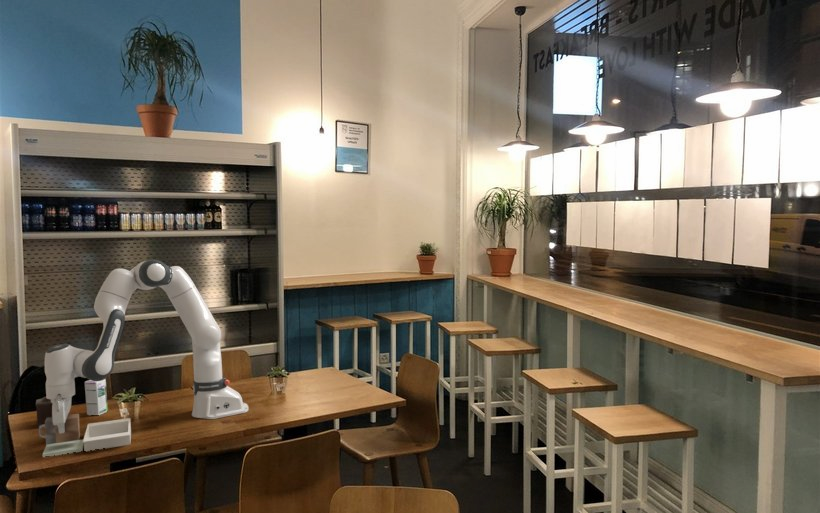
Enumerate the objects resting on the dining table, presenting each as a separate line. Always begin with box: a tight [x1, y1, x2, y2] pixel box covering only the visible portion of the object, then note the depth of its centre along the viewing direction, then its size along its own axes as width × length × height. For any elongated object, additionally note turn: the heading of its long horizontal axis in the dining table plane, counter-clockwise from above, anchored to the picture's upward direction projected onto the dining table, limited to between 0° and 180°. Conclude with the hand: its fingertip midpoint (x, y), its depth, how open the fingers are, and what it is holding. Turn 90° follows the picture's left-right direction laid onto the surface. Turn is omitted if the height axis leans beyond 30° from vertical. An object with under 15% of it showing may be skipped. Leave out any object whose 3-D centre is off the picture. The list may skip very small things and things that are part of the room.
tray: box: [83, 417, 132, 452], centre depth 224 cm, size 15×21×4 cm
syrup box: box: [84, 378, 109, 416], centre depth 258 cm, size 6×6×14 cm
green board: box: [42, 438, 84, 458], centre depth 217 cm, size 12×10×1 cm
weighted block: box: [44, 413, 81, 446], centre depth 217 cm, size 10×5×8 cm, turn 113°
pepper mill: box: [35, 396, 53, 429], centre depth 250 cm, size 16×11×18 cm
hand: (63, 429), depth 217 cm, fingers closed on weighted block, 5 cm apart
